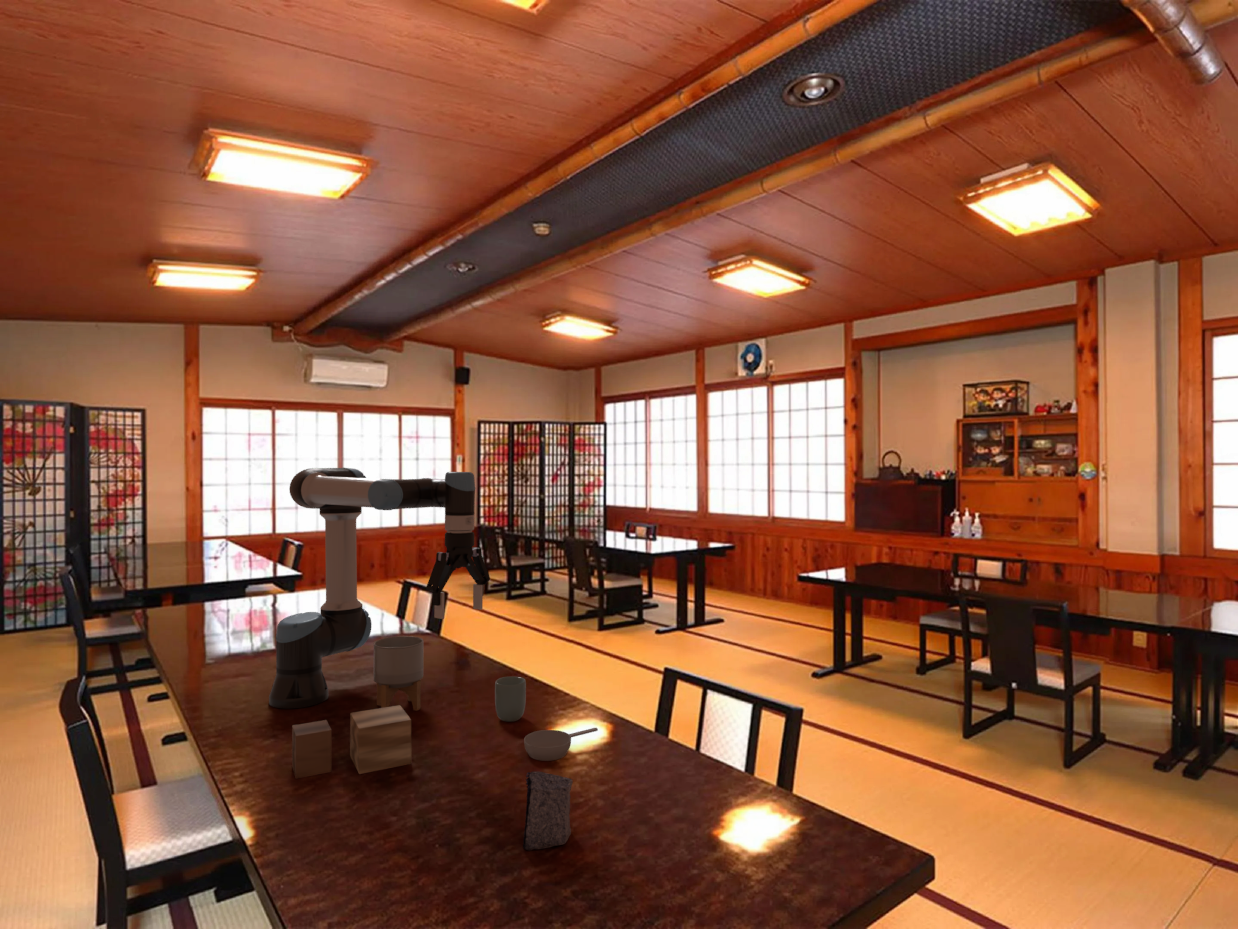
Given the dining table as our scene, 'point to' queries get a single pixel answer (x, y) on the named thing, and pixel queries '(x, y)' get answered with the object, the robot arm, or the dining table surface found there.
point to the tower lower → (380, 757)
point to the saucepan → (550, 743)
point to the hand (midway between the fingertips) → (459, 613)
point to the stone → (547, 810)
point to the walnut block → (311, 748)
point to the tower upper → (380, 728)
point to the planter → (398, 668)
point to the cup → (510, 698)
